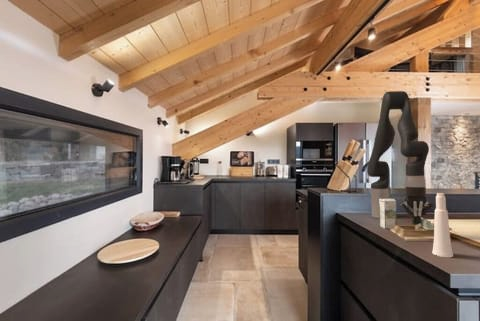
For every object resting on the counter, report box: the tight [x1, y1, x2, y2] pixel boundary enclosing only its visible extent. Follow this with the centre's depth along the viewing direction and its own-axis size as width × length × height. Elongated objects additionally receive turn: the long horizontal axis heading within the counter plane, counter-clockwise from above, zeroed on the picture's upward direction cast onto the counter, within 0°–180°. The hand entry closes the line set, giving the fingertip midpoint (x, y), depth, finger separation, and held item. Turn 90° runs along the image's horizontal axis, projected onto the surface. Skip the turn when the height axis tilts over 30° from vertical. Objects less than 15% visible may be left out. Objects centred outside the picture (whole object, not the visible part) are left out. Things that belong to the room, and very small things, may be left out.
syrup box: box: [379, 198, 397, 230], centre depth 132 cm, size 6×6×14 cm
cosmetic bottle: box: [431, 192, 454, 258], centre depth 94 cm, size 6×6×22 cm
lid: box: [418, 217, 453, 231], centre depth 116 cm, size 10×10×4 cm
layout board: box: [389, 224, 452, 242], centre depth 117 cm, size 17×17×4 cm
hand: (416, 224), depth 117 cm, fingers closed
